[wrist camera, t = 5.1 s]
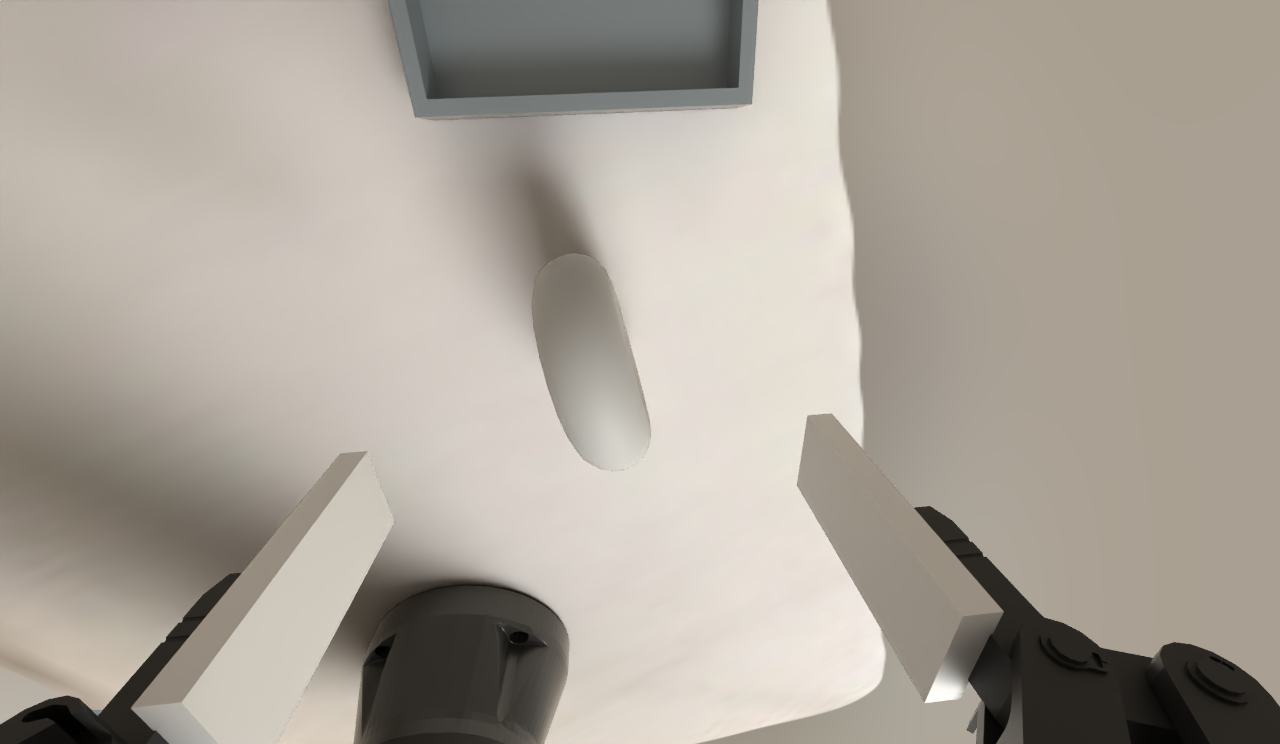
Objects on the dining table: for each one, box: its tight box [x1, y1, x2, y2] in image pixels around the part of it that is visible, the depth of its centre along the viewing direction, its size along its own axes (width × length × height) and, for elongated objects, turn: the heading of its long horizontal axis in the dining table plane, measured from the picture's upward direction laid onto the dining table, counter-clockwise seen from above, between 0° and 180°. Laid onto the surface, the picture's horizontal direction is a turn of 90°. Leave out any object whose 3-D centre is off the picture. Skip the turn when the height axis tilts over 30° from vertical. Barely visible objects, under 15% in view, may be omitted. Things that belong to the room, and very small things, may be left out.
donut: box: [532, 253, 651, 471], centre depth 21 cm, size 10×4×10 cm, turn 14°
